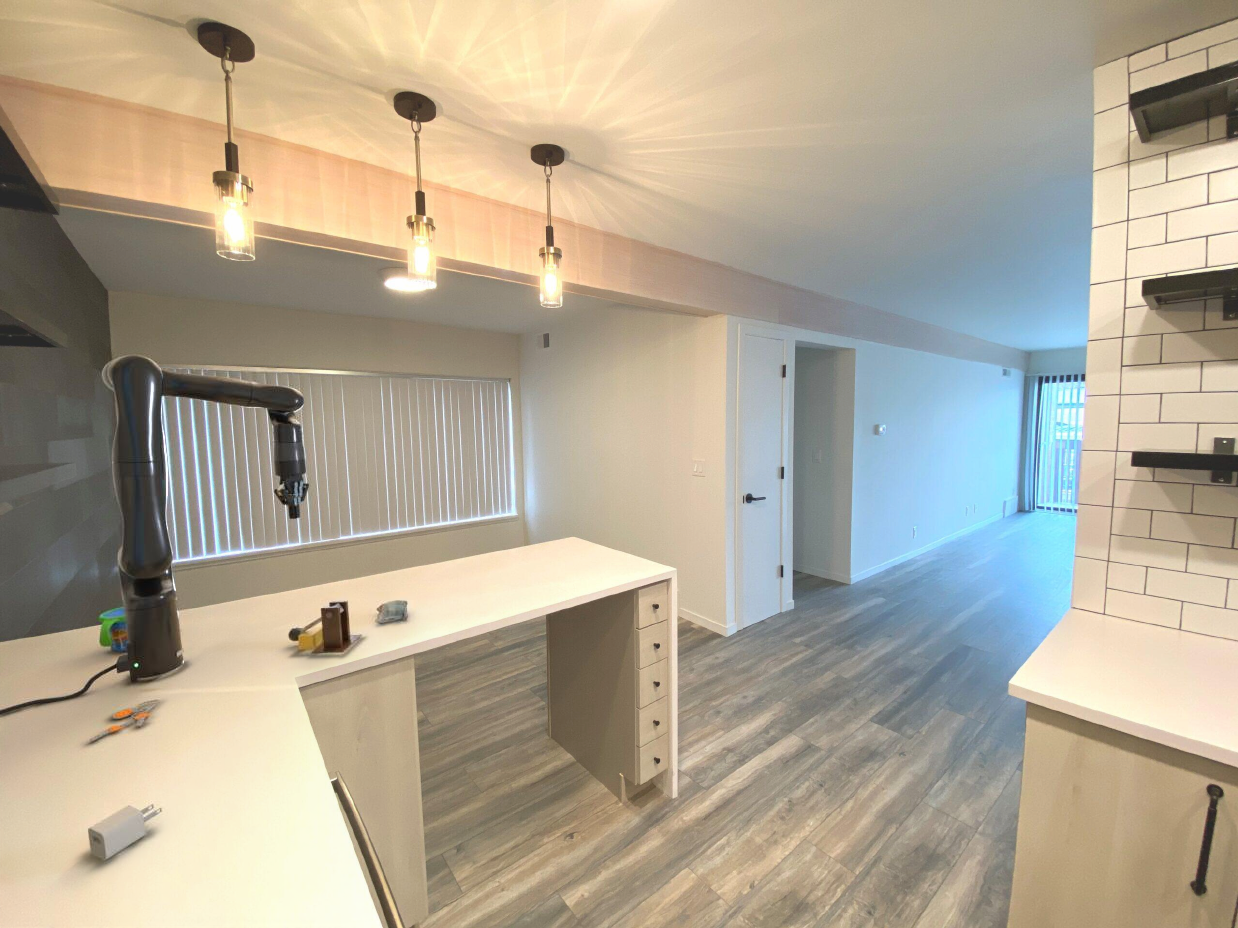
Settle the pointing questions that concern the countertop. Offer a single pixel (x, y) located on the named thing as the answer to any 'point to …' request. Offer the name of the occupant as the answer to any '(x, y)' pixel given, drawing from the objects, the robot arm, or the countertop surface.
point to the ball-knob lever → (298, 630)
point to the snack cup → (113, 630)
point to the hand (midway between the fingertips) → (294, 518)
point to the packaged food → (392, 611)
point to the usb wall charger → (118, 831)
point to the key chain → (139, 716)
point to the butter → (310, 638)
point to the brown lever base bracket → (335, 629)
